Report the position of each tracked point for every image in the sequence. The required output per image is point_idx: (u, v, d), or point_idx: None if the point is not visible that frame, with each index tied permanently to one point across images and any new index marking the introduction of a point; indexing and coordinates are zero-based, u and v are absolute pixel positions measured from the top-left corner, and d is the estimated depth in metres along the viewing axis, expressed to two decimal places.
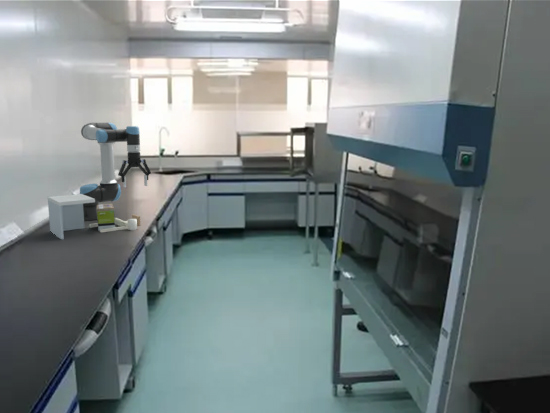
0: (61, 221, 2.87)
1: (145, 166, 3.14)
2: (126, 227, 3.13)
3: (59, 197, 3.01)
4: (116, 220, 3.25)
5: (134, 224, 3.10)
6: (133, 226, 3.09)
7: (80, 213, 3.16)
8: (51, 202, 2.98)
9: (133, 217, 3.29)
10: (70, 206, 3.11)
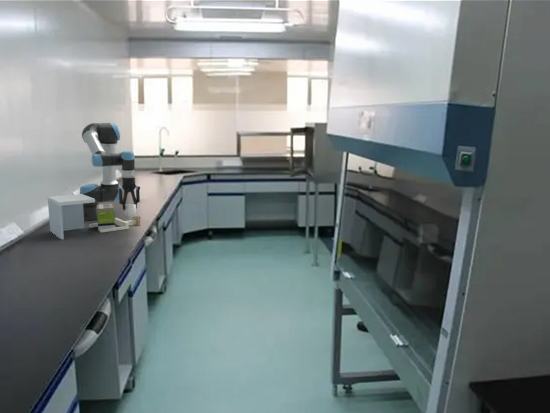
0: (61, 221, 2.87)
1: (137, 193, 3.12)
2: (126, 227, 3.13)
3: (59, 197, 3.01)
4: (116, 220, 3.25)
5: (133, 209, 3.08)
6: (132, 211, 3.07)
7: (80, 213, 3.16)
8: (51, 202, 2.98)
9: (133, 217, 3.29)
10: (70, 206, 3.11)
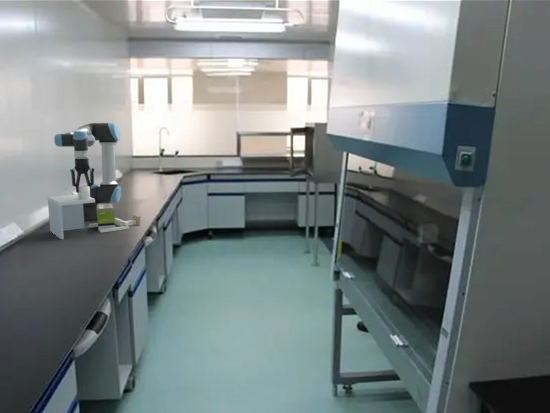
0: (61, 221, 2.87)
1: (91, 175, 3.00)
2: (126, 227, 3.13)
3: (59, 197, 3.01)
4: (116, 220, 3.25)
5: (86, 191, 2.95)
6: (86, 194, 2.95)
7: (80, 213, 3.16)
8: (51, 202, 2.98)
9: (133, 217, 3.29)
10: (70, 206, 3.11)
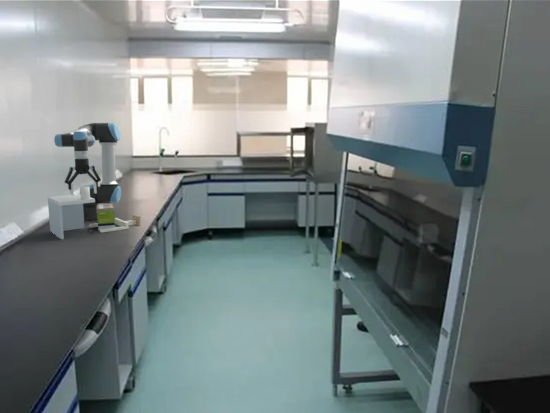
0: (61, 221, 2.87)
1: (94, 173, 3.01)
2: (126, 227, 3.13)
3: (59, 197, 3.01)
4: (116, 220, 3.25)
5: (86, 191, 2.95)
6: (86, 194, 2.95)
7: (80, 213, 3.16)
8: (51, 202, 2.98)
9: (133, 217, 3.29)
10: (70, 206, 3.11)
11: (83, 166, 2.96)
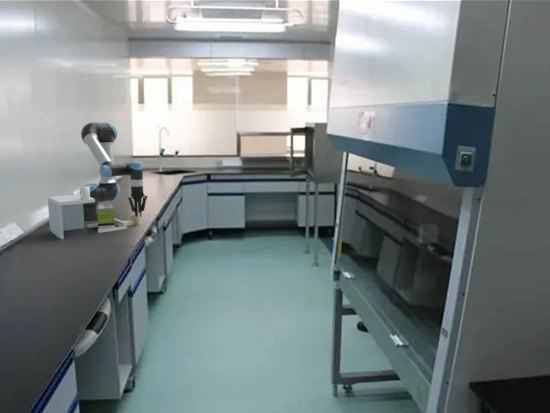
0: (61, 221, 2.87)
1: (143, 202, 3.28)
2: (124, 227, 3.13)
3: (59, 197, 3.01)
4: (115, 220, 3.24)
5: (86, 191, 2.95)
6: (86, 194, 2.95)
7: (80, 213, 3.16)
8: (51, 202, 2.98)
9: (131, 217, 3.29)
10: (70, 206, 3.11)
11: (138, 193, 3.25)
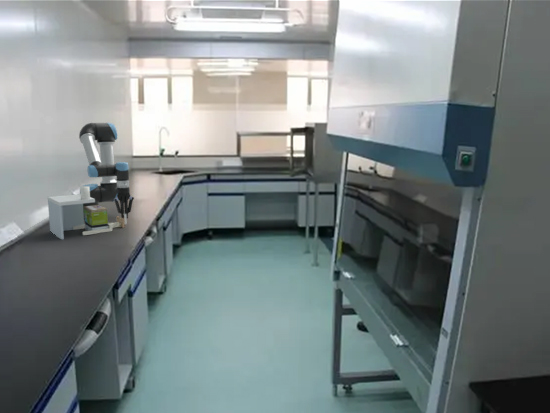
0: (61, 221, 2.87)
1: (130, 203, 3.22)
2: (110, 229, 3.07)
3: (59, 197, 3.01)
4: None
5: (86, 191, 2.95)
6: (86, 194, 2.95)
7: (80, 213, 3.16)
8: (51, 202, 2.98)
9: (117, 219, 3.23)
10: (70, 206, 3.11)
11: (124, 194, 3.19)
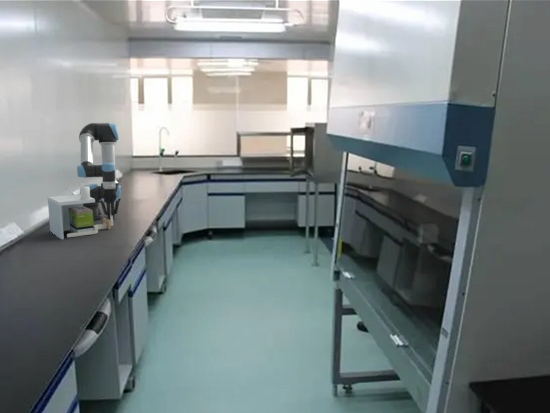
0: (61, 221, 2.87)
1: (116, 204, 3.17)
2: (95, 231, 3.02)
3: (59, 197, 3.01)
4: None
5: (86, 191, 2.95)
6: (86, 194, 2.95)
7: None
8: (51, 202, 2.98)
9: (103, 220, 3.18)
10: (70, 206, 3.11)
11: (111, 195, 3.14)
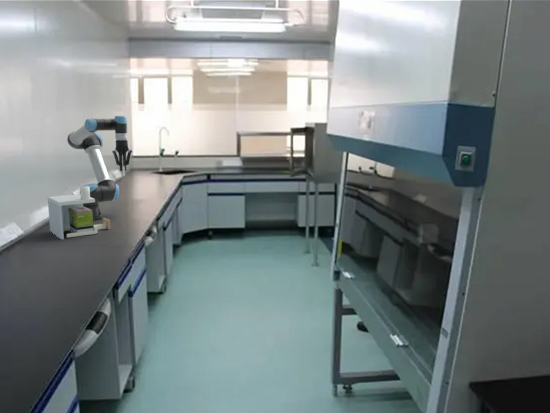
0: (61, 221, 2.87)
1: (128, 156, 3.35)
2: (95, 231, 3.02)
3: (59, 197, 3.01)
4: None
5: (86, 191, 2.95)
6: (86, 194, 2.95)
7: None
8: (51, 202, 2.98)
9: (103, 220, 3.18)
10: (70, 206, 3.11)
11: (123, 147, 3.32)
